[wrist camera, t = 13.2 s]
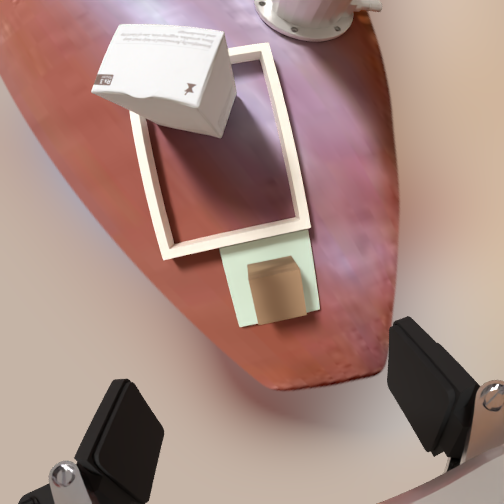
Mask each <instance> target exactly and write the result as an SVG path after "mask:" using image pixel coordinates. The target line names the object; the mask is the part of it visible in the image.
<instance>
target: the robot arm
mask: <svg viewBox="0 0 504 504" xmlns="http://www.w3.org/2000/svg"><path fill="white" fill-rule="evenodd" d="M254 5H255V8H256V11H257V13H258V14H259V16H260V17H261V19H262V20H263V21H264V22H265V23H266V24H268V25H269V26H270V27H271V28H273V29H274V30H276V31H278V32H279V33H282V34H284V35H286V36H288V37H292V38H295V39H298V40H304V41H314V42H320V41H328V40H331V39H335V38H337V37H339V36H341V35H342V34H343V33H345V32H346V31H347V29H348V28H349V27H350V25H351V23H352V21H353V15H354V14H353V11H356V12H359V11H360V10H367V11H373V12H380V11H381V10H382V4H381V2H380V1H379V0H254ZM387 383H388V387H389V389H390V391H391V393H392V394H393V396H394V397H395V399H396V401H397V402H398V404H399V406H400V407H401V409H402V411H403V412H404V414H405V416H406V418H407V419H408V421H409V423H410V424H411V426H412V428H413V430H414V431H415V433H416V435H417V436H418V438H419V440H420V442H421V443H422V445H423V447H424V449H425V450H426V451H427V452H430V451H431V452H432V454H433V456H434V457H435V456H436V455H438V454H440V453H442V452H445V454H446V455H447V457H448V461H447V464H446V468H445V471H444V474H442V475H440V476H438V477H437V478H435V479H433V480H431V481H429V482H427V483H425V484H423V485H420V486H418V487H416V488H414V489H412V490H409V491H407V492H405V493H402V494H400V495H398V496H395V497H393V498H390V499H388V500H385V501H383V502H380V503H377V504H504V381H501V380H492V381H489V382H486V383H484V384H483V385H482V386H479V385H478V383H477V382H476V381H475V380H474V379H473V378H472V377H471V376H470V375H469V374H468V373H467V372H466V371H465V369H464V368H463V367H462V366H461V365H460V364H459V363H458V362H457V361H456V360H455V359H454V358H453V357H452V356H451V355H450V354H449V353H448V352H447V351H446V350H445V349H444V348H443V347H442V346H441V345H440V344H439V343H436V342H435V341H434V340H433V339H432V338H431V337H430V336H429V335H428V334H427V333H426V332H425V331H424V330H423V329H422V328H421V327H420V326H419V325H418V324H417V323H416V322H415V321H414V320H413V319H412V318H411V317H408V316H407V317H405V318H402V319H400V320H397V321H395V322H394V323H393V326H392V327H390V329H389V359H388V376H387ZM163 437H164V429H163V427H162V425H161V424H160V422H159V421H158V420H157V418H156V416H155V415H154V413H153V412H152V411H151V409H150V407H149V406H148V404H147V403H146V401H145V400H144V398H143V397H142V395H141V393H140V392H139V390H138V389H137V387H136V385H135V384H134V383H133V382H131V381H130V380H128V379H117V380H113V381H112V383H111V385H110V387H109V389H108V390H107V393H106V394H105V396H104V398H103V400H102V402H101V404H100V406H99V408H98V410H97V412H96V414H95V416H94V418H93V420H92V422H91V424H90V426H89V428H88V430H87V432H86V434H85V436H84V438H83V440H82V442H81V444H80V446H79V448H78V451H77V453H76V455H75V457H74V458H75V459H76V460H77V461H78V462H77V464H74V463H73V462H71V461H62V462H59V463H58V464H56V465H55V466H54V467H53V468H52V469H51V471H50V474H49V484H47V485H45V486H43V487H41V488H39V489H36V490H34V491H32V492H30V493H28V494H26V495H24V496H23V497H22V498H21V499H20V501H19V503H18V504H145V503H147V502H148V501H149V498H150V493H151V489H152V483H153V479H154V475H155V471H156V466H157V462H158V458H159V453H160V449H161V445H162V441H163Z"/></svg>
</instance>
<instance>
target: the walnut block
mask: <svg viewBox="0 0 504 504" xmlns="http://www.w3.org/2000/svg"><path fill="white" fill-rule="evenodd" d="M247 268H248V280H249V285H250V289H251V294H252V298H253V303H254V307H255V312H256V316H257V321H258V325H262V324H267V323H272V322H277V321H281V320H286V319H290V318H295V317H299V316H304V315H307V313H306V306H305V299H304V292H303V285H302V278H301V272H300V268H299V267H298V265H297V264H296V262H295V261H294V259H293V258H292V256H286V257H281V258H277V259H272V260H267V261H262V262H257V263H252V264H248V265H247Z"/></svg>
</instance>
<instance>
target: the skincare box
mask: <svg viewBox="0 0 504 504" xmlns="http://www.w3.org/2000/svg"><path fill="white" fill-rule="evenodd" d="M91 92H92V93H94V94H96V95H98V96H100V97H102V98H104V99H107V100H109V101H111V102H113V103H115V104H118V105H120V106H122V107H124V108H126V109H128V110H130V111H132V112H134V113H136V114H138V115H140V116H142V117H144V118H146V119H148V120H150V121H152V122H154V123H156V124H158V125H161V126H166V127H170V128H175V129H180V130H185V131H190V132H194V133H199V134H205V135H210V136H214V137H217V138H222V136H223V133H224V130H225V127H226V124H227V121H228V118H229V115H230V111H231V108H232V105H233V103H234V100H235V97H236V94H237V92H236V86H235V81H234V77H233V72H232V67H231V62H230V57H229V53H228V48H227V43H226V39H225V33H224V32H222V31H217V30H211V29H203V28H195V27H186V26H175V25H157V24H120V25H119V26H118V28H117V30H116V32H115V34H114V36H113V38H112V40H111V43H110V45H109V47H108V50H107V52H106V54H105V57H104V59H103V61H102V64H101V66H100V69H99V72H98V74H97V77H96V80H95V83H94V86H93V88H92V91H91Z"/></svg>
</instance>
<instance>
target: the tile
mask: <svg viewBox="0 0 504 504" xmlns="http://www.w3.org/2000/svg"><path fill="white" fill-rule="evenodd" d="M219 250H220V254H221V258H222V262H223V266H224V270H225V274H226V278H227V282H228V285H229V289H230V293H231V297H232V301H233V304H234V308H235V312H236V316H237V319H238V323H239V327H243V326H248V325H253V324H258V321H257V316H256V312H255V307H254V303H253V298H252V294H251V289H250V285H249V280H248V268H247V265H248V264H252V263H257V262H262V261H267V260H272V259H277V258H281V257H286V256H292V258H293V259H294V261H295V262H296V264H297V265H298V267H299V268H300V272H301V278H302V285H303V292H304V299H305V306H306V313H307V312H311V311H315V310H319V309H320V306H319V298H318V290H317V283H316V276H315V270H314V263H313V256H312V250H311V244H310V238H309V232H308V229H303V230H298V231H293V232H289V233H284V234H279V235H275V236H270V237H266V238H261V239H256V240H252V241H247V242H243V243H238V244H233V245H229V246H224V247H220V248H219Z"/></svg>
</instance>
